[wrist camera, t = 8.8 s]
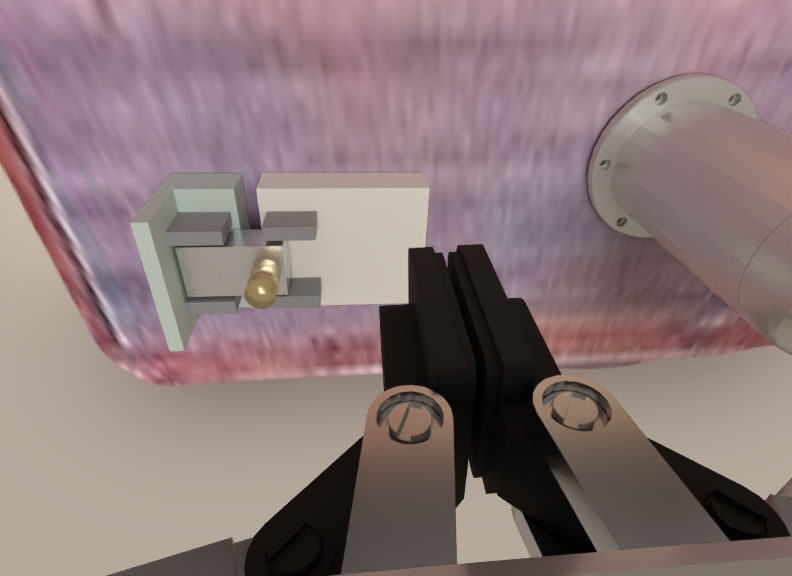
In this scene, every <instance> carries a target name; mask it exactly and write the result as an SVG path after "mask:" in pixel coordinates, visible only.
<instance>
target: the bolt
mask: <svg viewBox="0 0 792 576" xmlns="http://www.w3.org/2000/svg"><path fill="white" fill-rule="evenodd" d="M175 249H176V253H177V256H178V260H179V264H180V268H181V272H182V276H183V280H184V284H185V287H186V291H187V295H188V297H209V296H244V297H245V300H246V302H247V303H248V304H249V305H251V306H252V307H255V308H259V309H264V308H268V307H270V306H272V305H273V304H274V302H275V300H276V296H277V295H288V292H289V286H290V280H291V269H290V260H289V250H288V241H263V235H262V229H253V230H230V232H229V234H228V236H227V239H226V241H225V243H224V245H205V246H176V247H175Z"/></svg>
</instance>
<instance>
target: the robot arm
mask: <svg viewBox="0 0 792 576" xmlns="http://www.w3.org/2000/svg"><path fill="white" fill-rule="evenodd" d="M657 95H658V96H657ZM656 97H657V98H656ZM601 162H602V163H601ZM587 182H588V193H589V196H590V199H591V203H592V205H593V207H594V209H595V210H596V212H597V213H598V215H599V216H600V217H601V218H602V219H603V220H604V221H605V222H606V223H607V224H608V225H609V226H610V227H612V228H613V229H614V230H616V231H618V232H621V233H623V234H626V235H628V236H634V237H640V238H648V237H653V238H654V239H655V240H656V241H658V242H659V243H660V244H661V245H662V246H663V247H664V248H665V249H666V250H667V251H669V252H670V253H671V254H672V255H673V256H674V257H675V258H676V259H677V260H679V261H680V262H681V263H682V264H683V265H684V266H685V267H686V268H687V269H688V270H690V271H691V272H692V273H693V274H694V275H695V276H696V277H697V278H698V279H700V280H701V281H702V282H703V283H704V284H705V285H706V286H707V287H708V288H709V289H711V290H712V291H713V292H714V293H715V294H716V295H717V296H718V297H719V298H721V299H722V300H723V301H724V302H725V303H726V304H727V305H728V306H729V307H730V308H732V309H733V310H734V311H735V312H736V313H737V314H738V315H739V316H740V317H742V318H743V319H744V320H745V321H746V322H747V323H748V324H750V325H751V326H752V327H753V328H754V329H755V330H756V331H757V332H759V333H760V334H761V335H762V336H763V337H764V338H766V339H767V340H768V341H770V342H771V343H772V344H774V345H775V346H777V347H778V348H780V349H782V350H783V351H785V352H787V353H789V354H791V355H792V133H791V132H789V131H786V130H784V129H781V128H779V127H776V126H773V125H771V124H768V123H766V122H763V121H761V120H758V114H757V111H756V108H755V106H754V103H753V101H752V100H751V98H750V97H749V96H748V94H747V93H746V91H744V90H743V89H742V88H740V87H739V86H738V85H737V84H735V83H733V82H731V81H728V80H726V79H723V78H721V77H717V76H713V75H709V74H687V75H682V76H676V77H672V78H670V79H667V80H665V81H662V82H659V83H657V84H655V85H653V86H652V87H650V88H648V89H646V90H645V91H643V92H641V93H640V94H638V95H637V96H636V97H635V98H633V99H632V100H631V101H630V102H628V103H627V104H626V105H625V106H624V107H623V108H622V109H621V110H620V111H619V112H618V113H617V114H616V115H615V116H614V117H613V118H612V120H611V121H610V123H609V124H608V125H607V127H606V128H605V130H604V131H603V132H602V134H601V136H600V138H599V140H598V142H597V144H596V146H595V148H594V150H593V154H592V157H591V160H590V163H589V169H588V178H587ZM379 314H380V334H381V353H382V368H383V383H384V392H383V393H382V394H380V395H379V396H377V398H376V399H375V400H374V401H373V402H372V404H371V405H370V408H369V411H368V414H367V418H366V424H365V430H364V436H362V437H361V438H360V439H359V440H358V441H357V442H356V443H355V444H354V445H352V446H351V447H350V448H349V449H348V450H347V451H346V452H345V453H343V454H342V455H341V456H340V457H339V458H338V459H337V460H336V461H335V462H333V463H332V464H331V465H330V466H329V467H328V468H327V469H326V470H324V471H323V472H322V473H321V474H320V475H319V476H318V477H317V478H316V479H315V480H313V481H312V482H311V483H310V484H309V485H308V486H307V487H306V488H304V489H303V490H302V491H301V492H300V493H299V494H298V495H297V496H296V497H294V498H293V499H292V500H291V501H290V502H289V503H288V504H287V505H285V506H284V507H283V508H282V509H281V510H280V511H279V512H278V513H277V514H275V515H274V516H273V517H272V518H271V519H270V520H269V521H268V522H266V523H265V524H264V526H263V527H262V528H261V529H260V530H259V531H258V532H257V534H256V535H255V536H254V537H253V538H249V539H246V540H243V541H240V542H236V543H234V541H233V538H232V537H231V538H228V539H225V540H221V541H218V542H215V543H212V544H209V545H205V546H202V547H199V548H195V549H192V550H189V551H186V552H182V553H179V554H176V555H173V556H169V557H166V558H163V559H159V560H156V561H153V562H150V563H146V564H143V565H140V566H136V567H133V568H130V569H127V570H124V571H120V572H117V573H114V574H110V575H107V576H792V478H791V479H790V480H789V481H788V482H787V483H786V484H785V485H784V487H782V488H781V490H780V491H779V492H778V493H777V494H776V495H773V494H770V495H769V496H768V498H767V499H766V500H763V499H762V498H761V497H759V496H758V495H757V494H755V493H753V492H752V491H750V490H748V489H747V488H745V487H744V486H742V485H740V484H738V483H736V482H734V481H732V480H730V479H728V478H726V477H724V476H722V475H720V474H718V473H716V472H714V471H712V470H710V469H708V468H706V467H704V466H702V465H700V464H698V463H696V462H694V461H692V460H690V459H689V458H687V457H684V456H683V455H680V454H679V453H676V452H674V451H673V450H671V449H669V448H667V447H665V446H663V445H661V444H659V443H657V442H655V441H653V440H651V439H649V438H646V436H645V435H644V434H643V432H642V431H641V430H640V429H639V427H638V426H637V425H636V424H635V422H634V421H633V420H632V419H631V417H630V416H629V415H628V414H627V413H626V411H625V410H624V409H623V408H622V406H621V405H620V404H619V403H618V401H617V400H616V399H615V398H614V397H613V396H612V395H611V394H610V393H609V392H608V391H607V390H606V389H605V388H603V387H602V386H600V385H598V384H597V383H595V382H594V381H591V380H588V379H585V378H583V377H579V376H572V375H561V373H560V371H559V369H558V367H557V365H556V363H555V361H554V359H553V357H552V355H551V353H550V351H549V349H548V347H547V345H546V343H545V341H544V339H543V337H542V335H541V333H540V331H539V329H538V327H537V325H536V323H535V321H534V319H533V317H532V315H531V313H530V311H529V309H528V307H527V305H526V303H525V302H524V300H523V299H522V298H507V296H506V294H505V292H504V290H503V287H502V285H501V283H500V281H499V279H498V276H497V274H496V272H495V270H494V268H493V265H492V263H491V261H490V259H489V257H488V254H487V252H486V250H485V248H484V246H483V244H476V245H458V246H457V250H456V252H449V254H448V267H447V266H446V262H445V259H444V256H443V253H435V252H434V249H433V247H419V248H409V249H408V304H404V305H386V306H379ZM468 459H469V463H470V467H471V471H472V475H473V477H474V478H478V477H482V479H483V483H484V487H485V492H486V494H489V493H497V495H498V496H499V497H501V498H502V499H503V500H505V501H506V502H508V503H510V504H511V505H512V509H511V511H512V514H513V518H514V521H515V523H516V526H517V528H518V530H519V532H520V535H521V537H522V539H523V541H524V544H525V546H526V548H527V550H528V552H529V555H530V557H531V558H524V559H512V560H501V561H488V562H477V563H466V564H457V545H456V507H457V506H458V505H459V504H460V502H461V501H462V500H463V499H464V494H465V484H466V477H467V468H468Z"/></svg>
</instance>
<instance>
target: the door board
mask: <svg viewBox="0 0 792 576" xmlns="http://www.w3.org/2000/svg"><path fill="white" fill-rule="evenodd" d="M429 189H430V188H429V185H428V182H427V180H426V177H425V174H424V172H416V173H262V175H261V178H260V180H259V183H258V185H257V188H256V192H257V199H258V206H259V213H260V220H261V228H262V235H263V241H288V250H289V260H290V269H291V280H290V286H289V292H288V295H277V296H276V300H275V302H274V304H273V305H272V307H273V308H287V307H320V306H321V305H352V304H390V303H408V249H409V248H419V247H425V244H426V230H427V216H428V203H429Z"/></svg>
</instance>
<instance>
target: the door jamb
mask: <svg viewBox="0 0 792 576" xmlns="http://www.w3.org/2000/svg"><path fill="white" fill-rule="evenodd" d="M130 224H131V227H132V231H133V234H134V237H135V240H136V244H137V247H138V250H139V253H140V257H141V260H142V263H143V266H144V269H145V273H146V276H147V279H148V282H149V286H150V289H151V292H152V295H153V299H154V302H155V305H156V308H157V312H158V315H159V318H160V321H161V325H162V328H163V331H164V334H165V338H166V341H167V344H168V347H169V351H184V350H185V348H186V345H187V343H188V341H189V338H190V336H191V333H192V331H193V328H194V326H195V324H196V321H197V319H198V316H199V314H215V313H237V310H238V307H252V306H251V305H249V304H248V303H247V302H246V300H245V297H244V296H209V297H188V295H187V291H186V287H185V284H184V280H183V276H182V272H181V268H180V264H179V260H178V256H177V253H176V249H175V247H176V246H205V245H224V243H225V241H226V239H227V236H228V234H229V232H230V230H250V225H249V218H248V212H247V205H246V199H245V193H244V186H243V180H242V173H170V175H169V176H168V177H167V178H166V179H165V181H164V182H163V183H162V184H161V186H160V187H159V188H158V189H157V190H156V192H155V193H154V194H153V195H152V197H151V198H150V199H149V200H148V201H147V203H146V204H145V205H144V206H143V208H142V209H141V210H140V211H139V212H138V214H137V215H136V216H135V217H134V219H133V220H132V221H131V222H130Z"/></svg>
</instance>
